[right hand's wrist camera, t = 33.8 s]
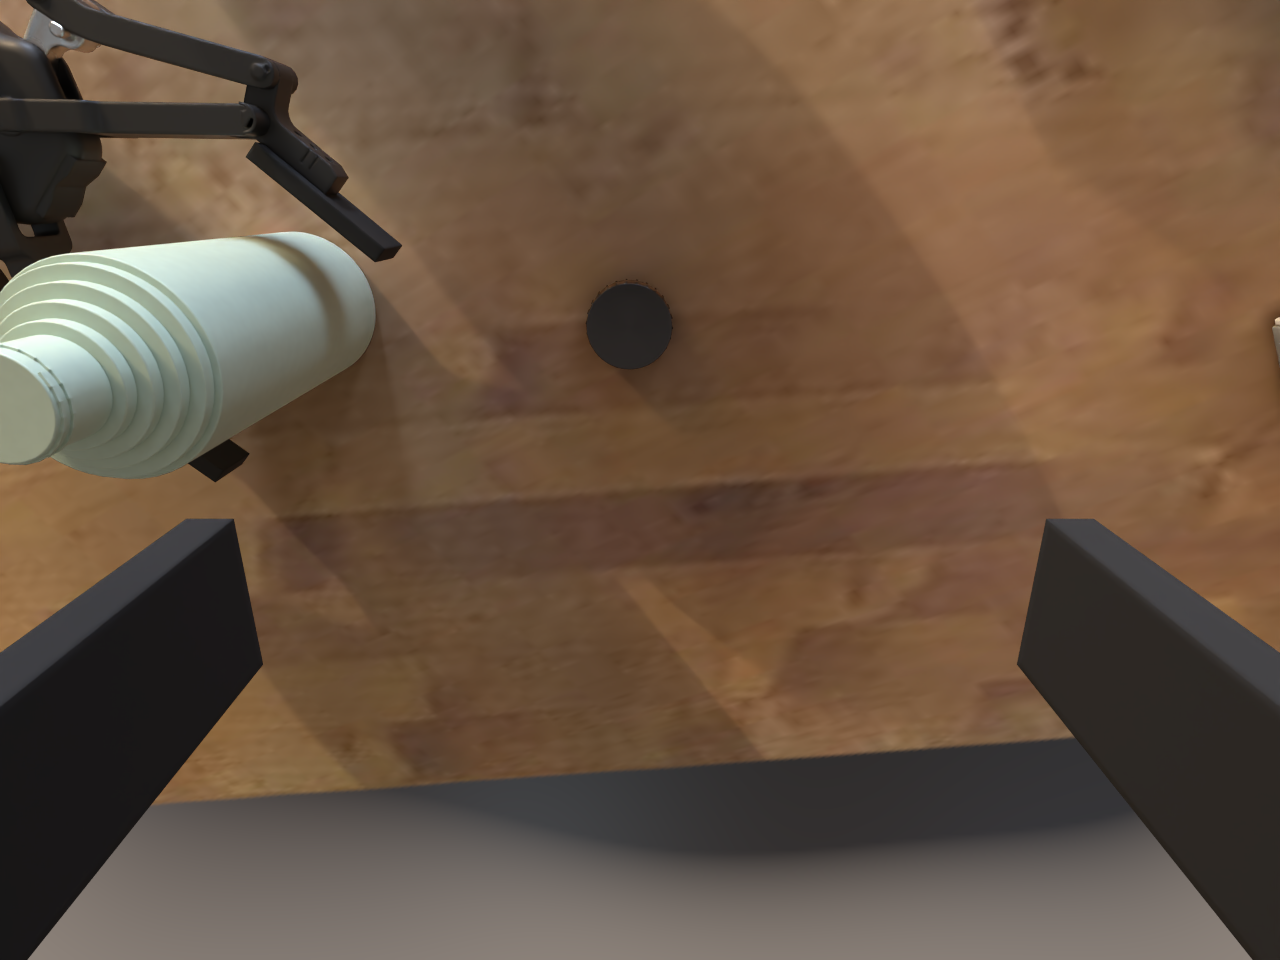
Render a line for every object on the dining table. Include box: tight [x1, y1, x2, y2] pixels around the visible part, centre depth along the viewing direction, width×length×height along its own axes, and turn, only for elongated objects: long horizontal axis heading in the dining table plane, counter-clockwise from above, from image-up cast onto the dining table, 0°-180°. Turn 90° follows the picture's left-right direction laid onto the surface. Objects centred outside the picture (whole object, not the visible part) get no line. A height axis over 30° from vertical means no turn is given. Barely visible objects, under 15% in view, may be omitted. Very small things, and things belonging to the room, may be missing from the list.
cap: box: [586, 279, 673, 369], centre depth 41 cm, size 5×5×2 cm
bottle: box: [0, 232, 376, 479], centre depth 32 cm, size 8×8×22 cm
